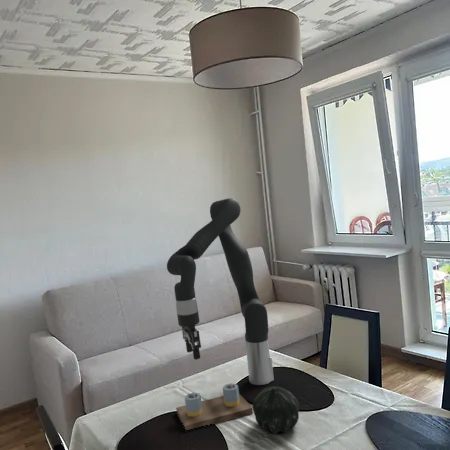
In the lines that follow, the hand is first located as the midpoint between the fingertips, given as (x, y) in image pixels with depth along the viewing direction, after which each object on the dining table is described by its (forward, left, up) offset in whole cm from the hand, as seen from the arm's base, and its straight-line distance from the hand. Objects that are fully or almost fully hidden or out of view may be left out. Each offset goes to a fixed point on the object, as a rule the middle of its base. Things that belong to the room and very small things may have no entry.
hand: (193, 355), depth 159 cm
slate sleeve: (+3, +4, -19) cm, 19 cm away
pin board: (-4, +4, -21) cm, 22 cm away
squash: (-20, +23, -21) cm, 37 cm away
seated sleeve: (-11, +4, -19) cm, 22 cm away
